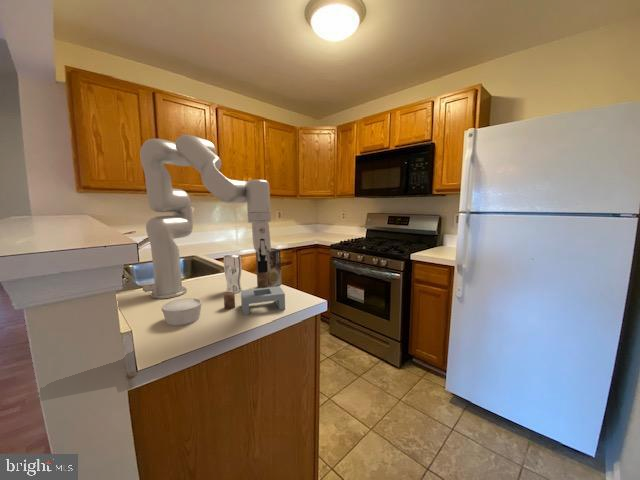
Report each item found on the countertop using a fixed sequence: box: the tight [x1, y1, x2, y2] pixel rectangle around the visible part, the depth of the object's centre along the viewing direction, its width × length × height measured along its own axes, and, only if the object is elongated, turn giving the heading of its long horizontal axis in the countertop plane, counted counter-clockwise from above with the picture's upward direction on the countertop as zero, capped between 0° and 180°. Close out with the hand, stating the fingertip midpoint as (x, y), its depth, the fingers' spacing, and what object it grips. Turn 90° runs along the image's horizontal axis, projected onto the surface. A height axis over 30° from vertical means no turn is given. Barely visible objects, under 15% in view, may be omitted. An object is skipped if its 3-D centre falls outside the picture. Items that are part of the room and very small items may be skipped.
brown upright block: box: [223, 292, 236, 310], centre depth 94 cm, size 4×4×5 cm
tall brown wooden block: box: [255, 250, 268, 289], centre depth 92 cm, size 4×4×15 cm
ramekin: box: [161, 297, 203, 327], centre depth 85 cm, size 11×11×5 cm
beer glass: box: [223, 253, 243, 294], centre depth 111 cm, size 7×7×15 cm
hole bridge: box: [240, 285, 286, 316], centre depth 94 cm, size 14×9×6 cm, turn 109°
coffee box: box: [256, 247, 283, 288], centre depth 118 cm, size 9×6×16 cm
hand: (262, 270), depth 92 cm, fingers closed on tall brown wooden block, 3 cm apart
